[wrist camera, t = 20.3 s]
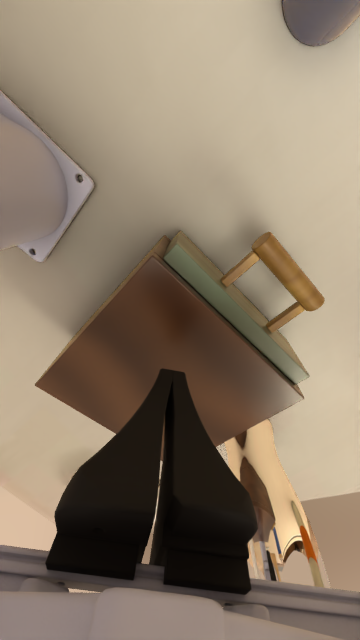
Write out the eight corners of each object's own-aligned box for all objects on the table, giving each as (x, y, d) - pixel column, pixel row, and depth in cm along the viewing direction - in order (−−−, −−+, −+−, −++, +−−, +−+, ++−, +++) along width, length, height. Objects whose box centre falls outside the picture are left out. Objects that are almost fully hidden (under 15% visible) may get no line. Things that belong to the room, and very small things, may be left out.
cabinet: (164, 234, 18) (151, 255, 12) (276, 345, 23) (305, 398, 17) (73, 337, 23) (33, 385, 18) (179, 411, 28) (175, 469, 22)
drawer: (223, 183, 16) (234, 180, 11) (329, 311, 20) (366, 344, 16) (87, 331, 22) (62, 365, 18) (189, 405, 26) (188, 447, 22)
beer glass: (266, 402, 26) (337, 611, 13) (281, 438, 29) (353, 640, 16) (208, 418, 28) (221, 617, 15) (228, 451, 31) (254, 642, 18)
